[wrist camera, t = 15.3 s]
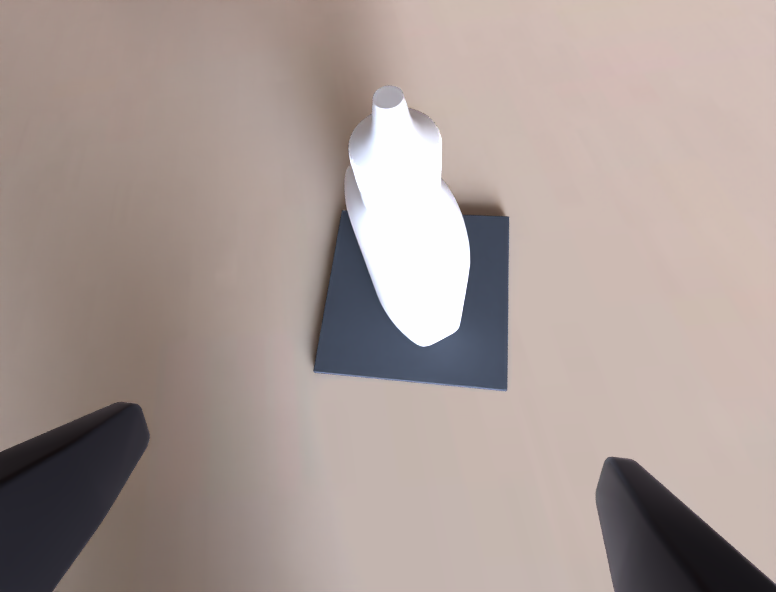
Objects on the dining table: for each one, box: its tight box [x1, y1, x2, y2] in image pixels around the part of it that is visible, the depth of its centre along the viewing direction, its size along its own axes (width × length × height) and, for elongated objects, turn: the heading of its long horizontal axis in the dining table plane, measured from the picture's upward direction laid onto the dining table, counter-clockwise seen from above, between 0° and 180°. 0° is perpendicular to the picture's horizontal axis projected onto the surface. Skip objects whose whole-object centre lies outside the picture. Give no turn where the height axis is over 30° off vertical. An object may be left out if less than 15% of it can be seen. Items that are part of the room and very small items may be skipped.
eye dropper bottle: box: [344, 86, 470, 346], centre depth 15 cm, size 4×6×12 cm
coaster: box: [313, 210, 509, 391], centre depth 20 cm, size 9×9×1 cm
